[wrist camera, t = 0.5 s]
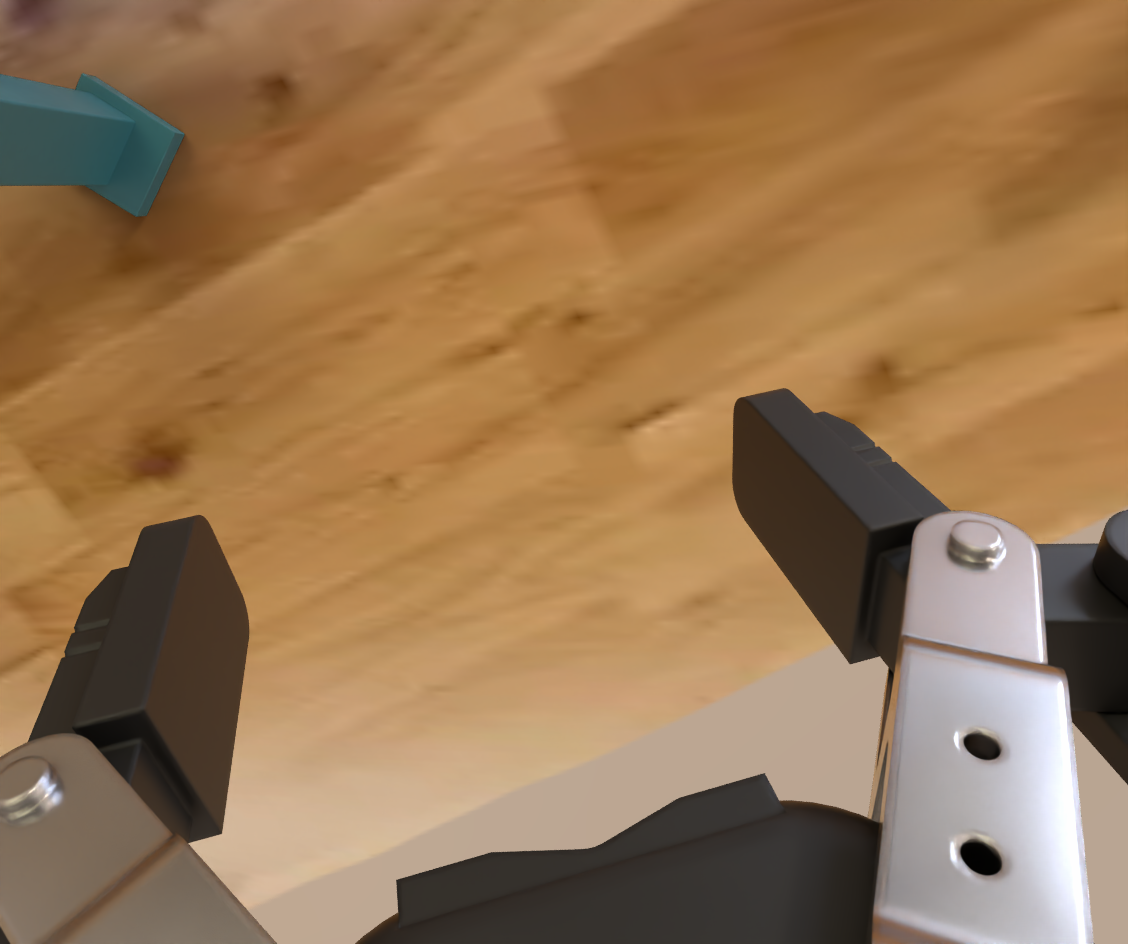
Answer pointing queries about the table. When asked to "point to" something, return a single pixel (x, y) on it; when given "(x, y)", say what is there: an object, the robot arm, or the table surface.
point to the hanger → (84, 140)
